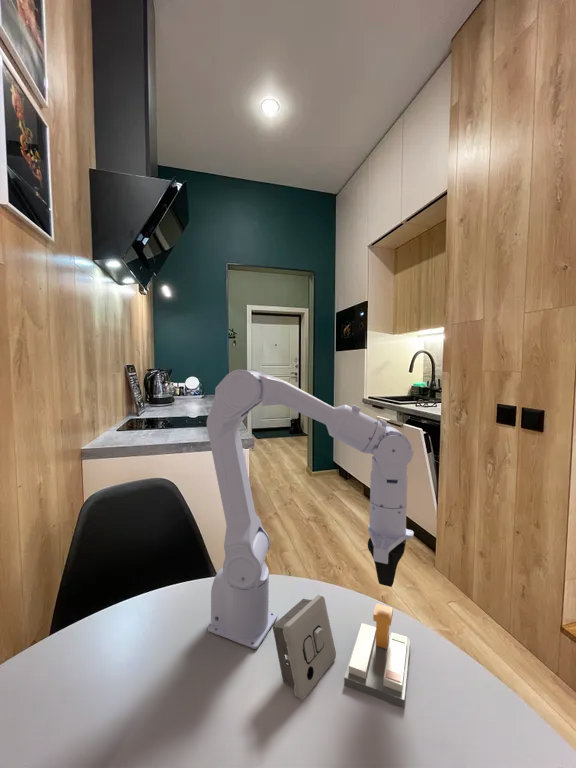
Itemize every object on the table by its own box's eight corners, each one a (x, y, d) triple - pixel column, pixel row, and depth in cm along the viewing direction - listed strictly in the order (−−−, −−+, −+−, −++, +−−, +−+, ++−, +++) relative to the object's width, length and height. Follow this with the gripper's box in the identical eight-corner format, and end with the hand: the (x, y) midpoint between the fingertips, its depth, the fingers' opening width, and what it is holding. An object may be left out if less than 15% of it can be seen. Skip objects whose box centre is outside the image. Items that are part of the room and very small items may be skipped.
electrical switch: (301, 705, 45) (296, 633, 45) (271, 685, 48) (267, 619, 48) (337, 659, 52) (333, 597, 53) (309, 644, 56) (306, 587, 56)
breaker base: (344, 685, 48) (344, 669, 48) (360, 630, 58) (360, 617, 58) (404, 708, 45) (404, 692, 45) (410, 646, 55) (410, 632, 55)
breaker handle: (372, 645, 53) (373, 614, 53) (375, 632, 56) (376, 603, 56) (389, 651, 52) (390, 619, 52) (392, 638, 55) (392, 607, 55)
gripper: (411, 525, 47) (408, 620, 48) (416, 491, 60) (414, 565, 61) (359, 515, 50) (357, 605, 50) (376, 485, 63) (374, 556, 64)
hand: (385, 583), depth 56 cm, fingers closed
